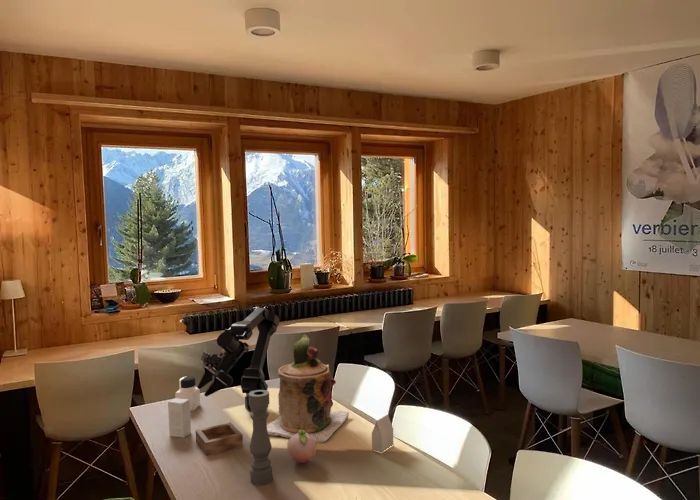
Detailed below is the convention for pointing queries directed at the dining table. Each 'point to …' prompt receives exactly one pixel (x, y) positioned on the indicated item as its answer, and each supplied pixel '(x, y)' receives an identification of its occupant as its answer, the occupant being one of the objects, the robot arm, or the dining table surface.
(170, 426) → the skincare box
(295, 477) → the dining table surface
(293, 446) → the decorative fruit
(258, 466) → the candle holder
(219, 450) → the walnut holder
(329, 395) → the cookie jar
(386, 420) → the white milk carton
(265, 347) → the robot arm
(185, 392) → the medicine bottle
